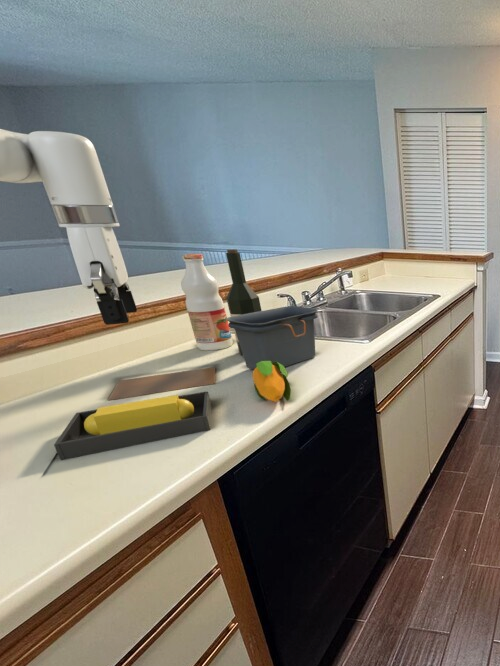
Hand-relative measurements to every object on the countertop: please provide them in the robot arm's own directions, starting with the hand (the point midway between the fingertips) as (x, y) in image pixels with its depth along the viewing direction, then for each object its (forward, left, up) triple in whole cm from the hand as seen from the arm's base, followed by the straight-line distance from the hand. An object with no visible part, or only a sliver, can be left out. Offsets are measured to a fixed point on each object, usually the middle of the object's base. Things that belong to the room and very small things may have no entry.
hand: (122, 317), depth 77 cm
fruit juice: (+9, +56, -22) cm, 61 cm away
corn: (+21, +4, -22) cm, 31 cm away
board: (-1, +26, -22) cm, 34 cm away
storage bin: (+26, +28, -22) cm, 44 cm away
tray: (-2, -2, -22) cm, 22 cm away
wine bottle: (+19, +44, -22) cm, 53 cm away
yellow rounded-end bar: (-2, -2, -21) cm, 22 cm away
